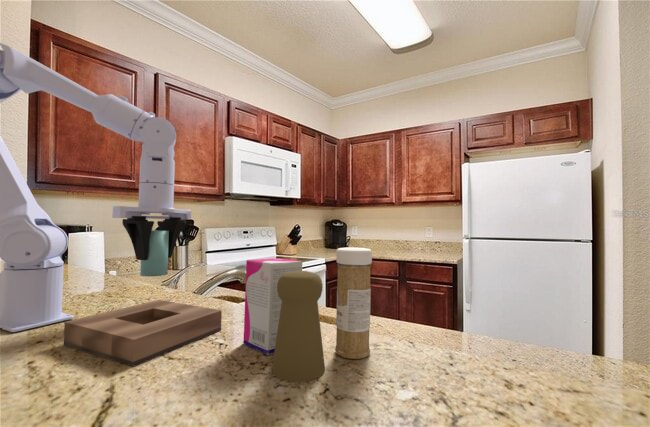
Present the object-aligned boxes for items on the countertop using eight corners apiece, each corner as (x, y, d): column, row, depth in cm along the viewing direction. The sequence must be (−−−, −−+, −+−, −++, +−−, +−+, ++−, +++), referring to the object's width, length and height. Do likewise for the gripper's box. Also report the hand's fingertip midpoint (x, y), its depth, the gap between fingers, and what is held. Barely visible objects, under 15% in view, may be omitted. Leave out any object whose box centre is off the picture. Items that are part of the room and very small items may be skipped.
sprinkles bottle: (332, 346, 43) (334, 246, 44) (365, 345, 44) (367, 246, 44) (338, 361, 39) (339, 249, 39) (375, 360, 39) (376, 249, 40)
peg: (134, 275, 58) (136, 230, 58) (156, 272, 62) (158, 230, 62) (151, 277, 56) (152, 231, 56) (172, 273, 60) (174, 230, 60)
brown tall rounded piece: (318, 385, 33) (320, 277, 33) (263, 378, 34) (265, 274, 35) (329, 360, 39) (330, 269, 39) (282, 355, 40) (283, 267, 40)
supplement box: (302, 343, 44) (304, 260, 45) (267, 356, 40) (269, 263, 40) (275, 333, 48) (277, 256, 49) (241, 343, 44) (243, 259, 44)
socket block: (63, 344, 42) (64, 321, 42) (158, 317, 55) (158, 299, 55) (133, 366, 36) (134, 339, 37) (221, 330, 49) (221, 310, 49)
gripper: (133, 178, 51) (130, 264, 51) (203, 188, 64) (201, 256, 64) (105, 180, 54) (102, 261, 54) (178, 189, 67) (176, 254, 67)
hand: (154, 258), depth 59 cm, fingers closed on peg, 4 cm apart
